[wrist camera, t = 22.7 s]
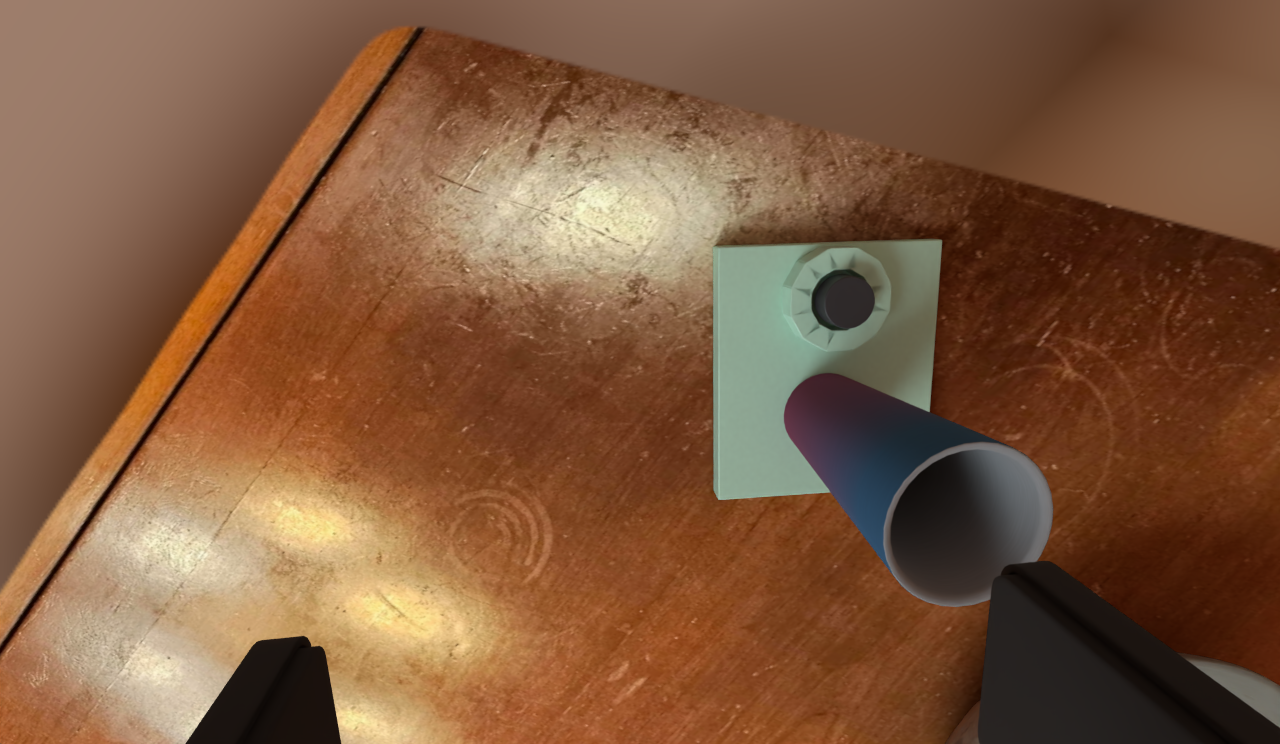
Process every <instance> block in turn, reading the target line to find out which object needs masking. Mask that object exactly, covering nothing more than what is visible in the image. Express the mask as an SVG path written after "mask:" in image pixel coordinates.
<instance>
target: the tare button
mask: <svg viewBox="0 0 1280 744" xmlns="http://www.w3.org/2000/svg"><path fill="white" fill-rule="evenodd" d="M874 305H875V296H874V292H873V290H872V288H871V286H870V285H869V284H868V283H867V282H866V281H865V280H864V279H862V278H859V277H855V276H851V275H846V274H836V275H833V276H830V277H829V278H827V279H826V280H824V281H823V282H822V283H821V285H820V286H819V288H818V290H817V292H816V295H815V307H816V311H817V313H818V314H819V316H820V317H821V318H822V319H823V320H824V321H826V322H828V323H830V324H832V325H835V326H837V327H840V328H844V329H851V328H855V327H858V326H860V325H861V324H863V323H864V322H865V321H866V320H867V319H868V318H869V317H870V315H871V314H872V312H873V309H874Z"/></svg>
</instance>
